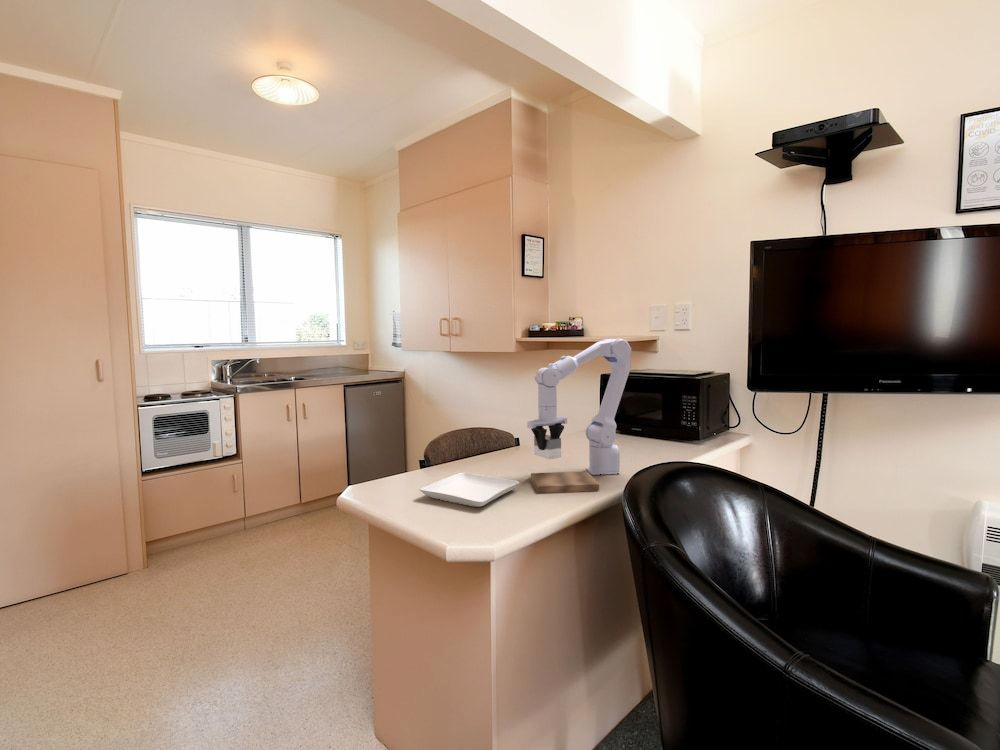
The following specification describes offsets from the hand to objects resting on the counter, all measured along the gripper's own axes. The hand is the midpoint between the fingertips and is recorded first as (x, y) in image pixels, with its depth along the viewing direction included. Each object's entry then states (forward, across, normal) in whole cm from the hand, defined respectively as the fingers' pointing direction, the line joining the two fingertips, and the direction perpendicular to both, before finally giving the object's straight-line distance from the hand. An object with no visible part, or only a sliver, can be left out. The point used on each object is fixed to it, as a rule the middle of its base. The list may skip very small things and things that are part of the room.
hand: (547, 448), depth 157 cm
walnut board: (+9, +1, +9) cm, 13 cm away
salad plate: (+10, +29, +1) cm, 30 cm away
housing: (+2, 0, 0) cm, 2 cm away
